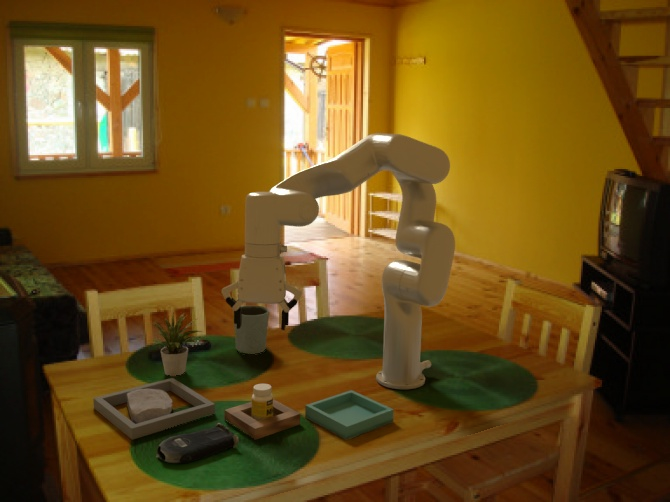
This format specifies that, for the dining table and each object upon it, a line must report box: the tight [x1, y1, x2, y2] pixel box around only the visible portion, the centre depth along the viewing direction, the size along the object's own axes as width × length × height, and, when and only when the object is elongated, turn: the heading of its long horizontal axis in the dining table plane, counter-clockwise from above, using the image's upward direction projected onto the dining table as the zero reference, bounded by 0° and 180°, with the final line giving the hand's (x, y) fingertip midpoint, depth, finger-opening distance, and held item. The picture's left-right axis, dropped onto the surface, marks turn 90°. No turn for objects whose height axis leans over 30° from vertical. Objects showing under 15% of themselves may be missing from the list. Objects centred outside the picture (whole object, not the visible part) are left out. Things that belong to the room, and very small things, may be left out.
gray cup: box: [234, 304, 270, 355], centre depth 200 cm, size 10×10×12 cm
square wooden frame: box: [224, 398, 301, 441], centre depth 155 cm, size 12×12×2 cm
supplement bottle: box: [251, 383, 274, 421], centre depth 154 cm, size 5×5×8 cm
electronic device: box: [155, 422, 240, 464], centre depth 142 cm, size 9×6×15 cm
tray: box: [304, 389, 394, 441], centre depth 157 cm, size 14×14×3 cm
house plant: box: [145, 311, 204, 377], centre depth 180 cm, size 14×14×16 cm
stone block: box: [126, 388, 173, 424], centre depth 159 cm, size 12×5×10 cm
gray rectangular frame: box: [92, 377, 216, 440], centre depth 159 cm, size 20×20×2 cm
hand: (261, 327), depth 152 cm, fingers open, 9 cm apart
